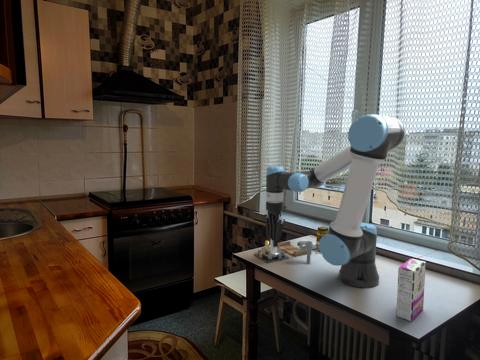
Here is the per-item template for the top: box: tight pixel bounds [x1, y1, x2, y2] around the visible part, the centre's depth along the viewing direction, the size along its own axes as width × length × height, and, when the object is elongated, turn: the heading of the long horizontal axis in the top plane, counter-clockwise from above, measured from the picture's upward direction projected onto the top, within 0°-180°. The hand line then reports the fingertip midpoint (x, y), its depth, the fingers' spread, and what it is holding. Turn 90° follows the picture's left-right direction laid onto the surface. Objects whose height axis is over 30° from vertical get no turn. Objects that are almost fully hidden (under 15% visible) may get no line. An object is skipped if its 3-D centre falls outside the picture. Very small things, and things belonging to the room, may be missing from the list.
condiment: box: [313, 226, 329, 254], centre depth 164 cm, size 7×8×12 cm
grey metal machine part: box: [257, 240, 286, 259], centre depth 155 cm, size 13×13×8 cm
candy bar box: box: [396, 258, 427, 322], centre depth 105 cm, size 11×5×16 cm, turn 135°
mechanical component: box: [296, 240, 319, 265], centre depth 147 cm, size 3×10×10 cm, turn 89°
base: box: [253, 252, 290, 264], centre depth 156 cm, size 12×12×1 cm
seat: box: [277, 240, 307, 258], centre depth 164 cm, size 15×8×2 cm, turn 29°
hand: (273, 253), depth 147 cm, fingers closed
